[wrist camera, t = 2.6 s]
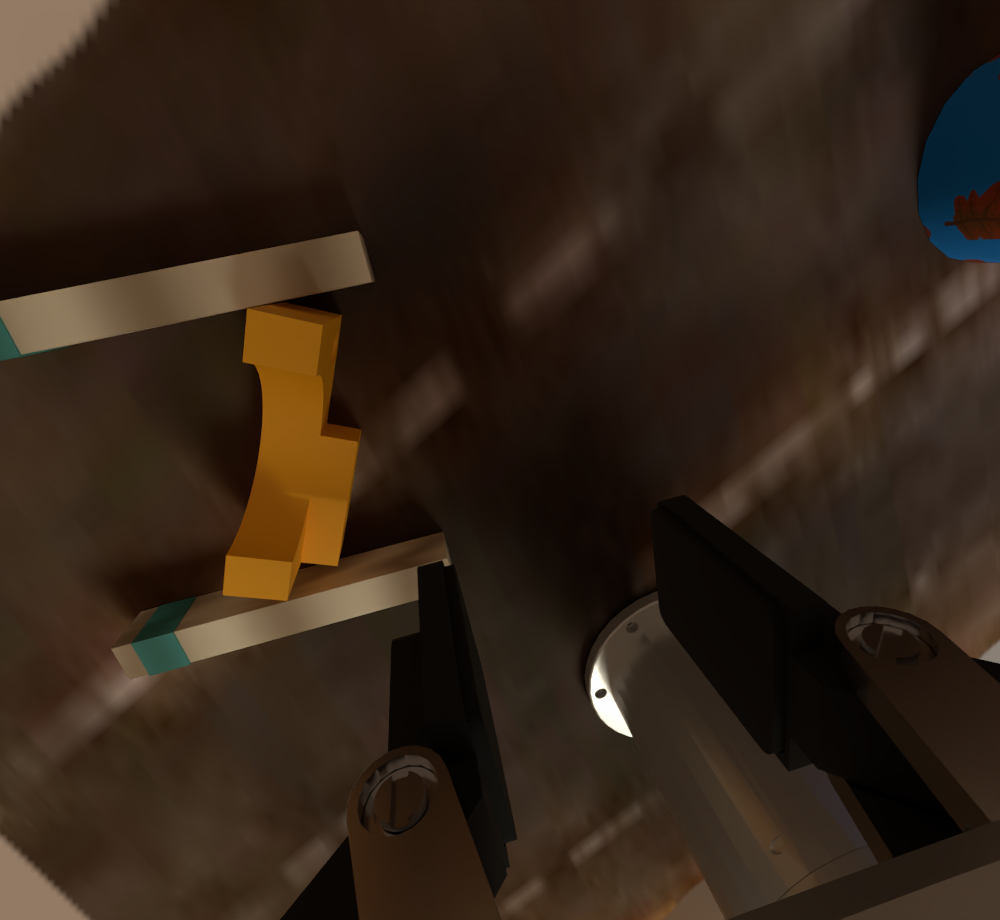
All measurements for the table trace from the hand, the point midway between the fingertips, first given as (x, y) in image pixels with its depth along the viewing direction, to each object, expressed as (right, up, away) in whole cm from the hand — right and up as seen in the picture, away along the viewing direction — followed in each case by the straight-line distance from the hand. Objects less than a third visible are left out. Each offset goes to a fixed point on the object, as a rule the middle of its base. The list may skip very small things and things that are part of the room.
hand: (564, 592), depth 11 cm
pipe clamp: (-11, +5, +15) cm, 19 cm away
